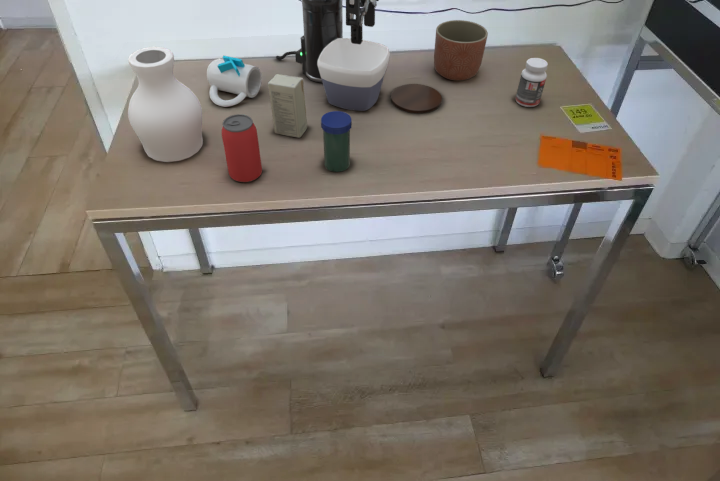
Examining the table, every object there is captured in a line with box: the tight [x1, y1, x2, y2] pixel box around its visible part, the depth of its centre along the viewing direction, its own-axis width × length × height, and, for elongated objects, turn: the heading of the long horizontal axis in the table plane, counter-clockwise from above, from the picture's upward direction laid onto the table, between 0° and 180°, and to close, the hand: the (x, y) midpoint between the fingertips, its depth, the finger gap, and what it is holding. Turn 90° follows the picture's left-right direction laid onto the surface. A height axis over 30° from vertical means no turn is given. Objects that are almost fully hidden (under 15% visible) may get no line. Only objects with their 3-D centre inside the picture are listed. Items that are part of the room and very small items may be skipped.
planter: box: [433, 19, 489, 81], centre depth 139 cm, size 12×12×11 cm
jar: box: [322, 129, 351, 173], centre depth 111 cm, size 5×5×10 cm
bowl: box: [317, 37, 391, 112], centre depth 129 cm, size 15×15×11 cm
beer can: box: [221, 113, 263, 183], centre depth 108 cm, size 7×7×12 cm
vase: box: [127, 46, 204, 163], centre depth 112 cm, size 14×14×20 cm
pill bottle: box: [515, 57, 548, 108], centre depth 130 cm, size 6×6×10 cm
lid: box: [320, 110, 353, 134], centre depth 108 cm, size 6×6×2 cm
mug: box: [206, 55, 263, 108], centre depth 130 cm, size 12×9×12 cm
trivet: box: [390, 83, 443, 114], centre depth 133 cm, size 12×12×1 cm
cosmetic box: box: [267, 73, 308, 139], centre depth 119 cm, size 6×4×12 cm
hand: (363, 34), depth 115 cm, fingers open, 8 cm apart
